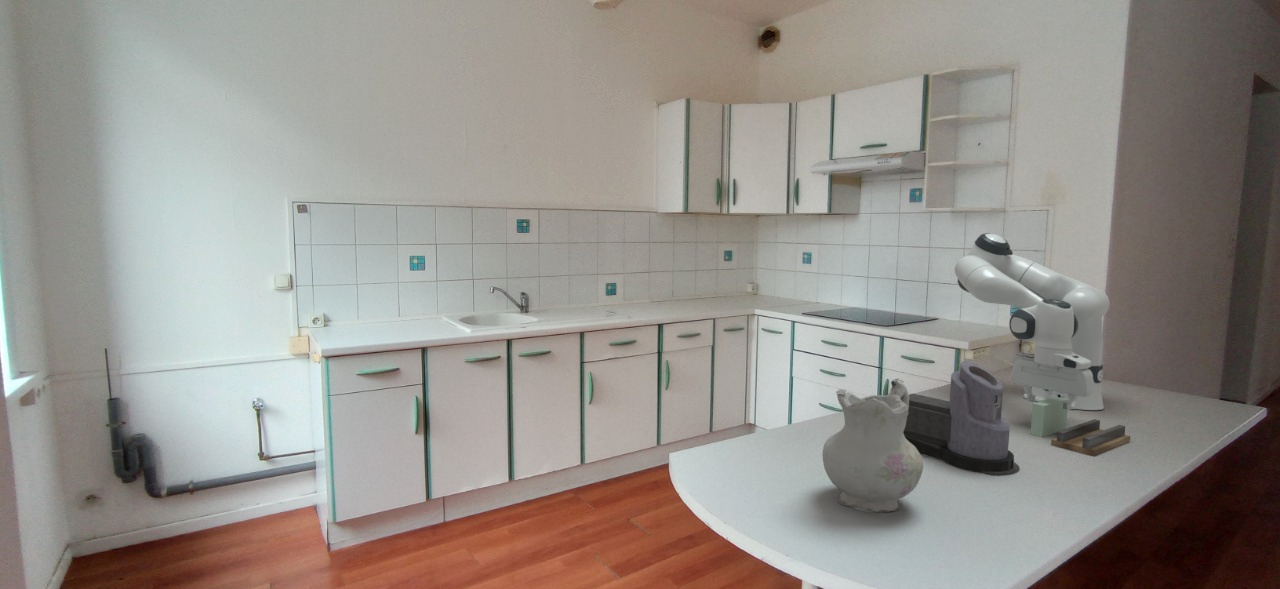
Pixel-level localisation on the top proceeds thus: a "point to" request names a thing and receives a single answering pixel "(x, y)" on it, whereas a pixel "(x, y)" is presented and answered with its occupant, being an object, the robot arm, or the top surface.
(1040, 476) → the top surface
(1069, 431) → the bottom track
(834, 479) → the ceramic pitcher
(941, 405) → the juicer
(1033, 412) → the door panel
